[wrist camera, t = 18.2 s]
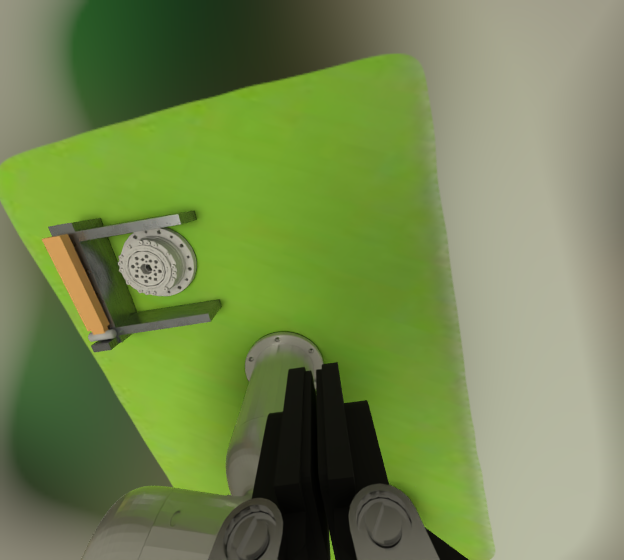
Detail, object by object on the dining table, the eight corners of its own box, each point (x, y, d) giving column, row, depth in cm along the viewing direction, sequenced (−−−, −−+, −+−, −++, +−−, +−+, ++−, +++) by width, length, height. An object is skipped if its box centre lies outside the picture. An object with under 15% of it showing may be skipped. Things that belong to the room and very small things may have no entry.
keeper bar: (117, 335, 39) (112, 340, 38) (97, 338, 39) (90, 343, 38) (70, 233, 34) (62, 235, 33) (47, 237, 35) (38, 239, 33)
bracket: (223, 313, 44) (208, 335, 37) (123, 328, 45) (92, 352, 38) (191, 202, 39) (167, 205, 32) (79, 221, 40) (34, 228, 33)
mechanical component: (127, 286, 43) (195, 298, 43) (107, 297, 39) (182, 310, 39) (127, 219, 40) (200, 233, 40) (105, 223, 36) (187, 239, 36)
